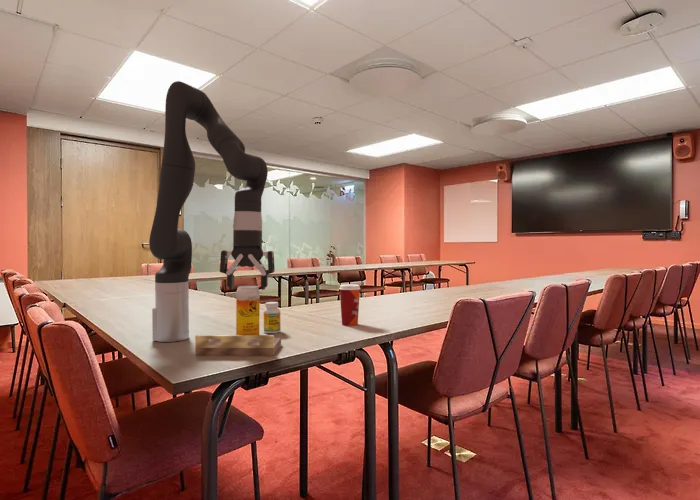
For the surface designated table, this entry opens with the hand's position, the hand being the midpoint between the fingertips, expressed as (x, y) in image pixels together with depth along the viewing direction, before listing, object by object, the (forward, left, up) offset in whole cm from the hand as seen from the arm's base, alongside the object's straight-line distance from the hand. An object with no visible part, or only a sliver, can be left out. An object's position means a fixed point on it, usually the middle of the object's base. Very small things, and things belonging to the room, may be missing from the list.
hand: (247, 289), depth 111 cm
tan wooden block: (-2, 0, -16) cm, 16 cm away
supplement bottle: (+2, +22, -17) cm, 28 cm away
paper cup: (+27, +35, -17) cm, 47 cm away
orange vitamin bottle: (0, 0, -15) cm, 15 cm away
